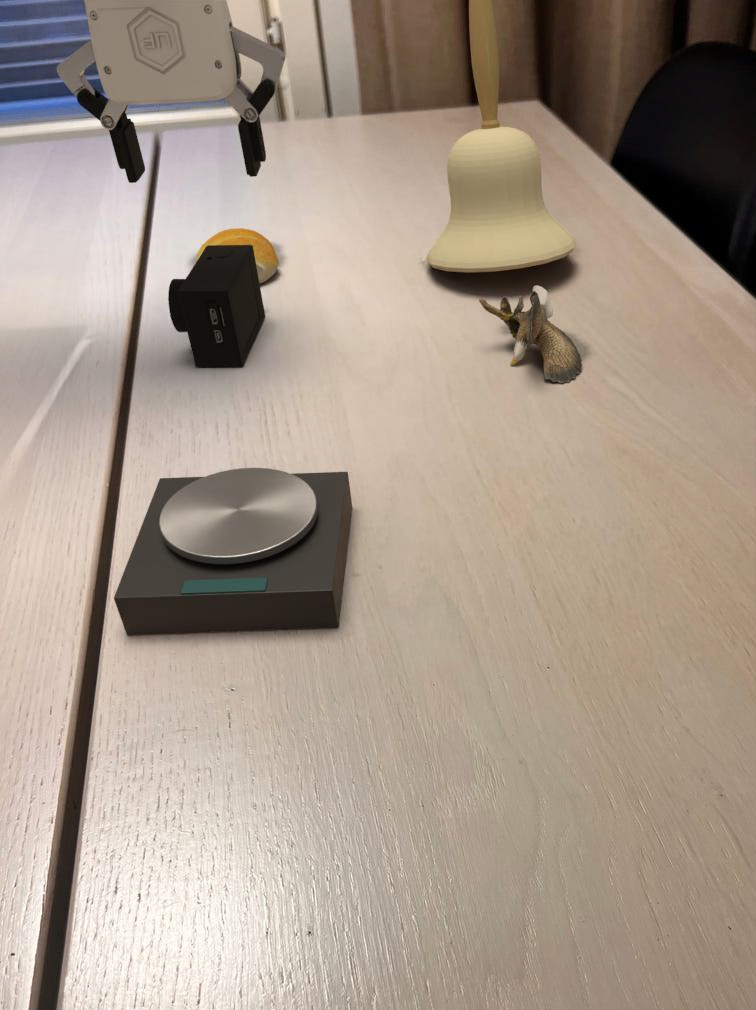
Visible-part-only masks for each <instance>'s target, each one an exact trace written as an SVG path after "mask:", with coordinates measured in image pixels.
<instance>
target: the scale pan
mask: <svg viewBox="0 0 756 1010" xmlns="http://www.w3.org/2000/svg"><path fill="white" fill-rule="evenodd" d="M293 474H294V473H289V472H287V471H283V470H279V469H275V468H273V469H272V468H268V467H267V468H266V467H242V468H234V469H228V470H227V469H226V470H223V471H219V472H214V473H212V474H209V475H206V476H202V477H203V478H201V479H198V480H196V481H194V482H192V483H190V484H188V485H186V486H185V487H183V488H182V489H180V490H179V491H178V492H177V493H175V494H174V495H173V496H172V497H171V498H170V499H169V500H168V501H167V503H166V504H165V506H164V507H163V509H162V511H161V514H160V518H159V527H160V531H161V534H162V537H163V539H164V541H165V543H166V544H167V545H168V546H169V548H171V549H172V550H173V551H174V552H176V553H177V554H179V555H181V556H183V557H185V558H188V559H190V560H194V561H197V562H203V563H209V564H238V563H245V562H251V561H255V560H259V559H263V558H266V557H269V556H272V555H274V554H277V553H279V552H281V551H283V550H285V549H287V548H289V547H290V546H292V545H294V544H295V543H297V542H298V541H299V540H300V539H302V538H303V537H304V536H305V535H306V534H307V533H308V532H309V530H310V529H311V528H312V526H313V524H314V522H315V520H316V517H317V514H318V506H317V500H316V496H315V493H314V491H313V490H312V488H311V487H310V486H309V485H308V484H307V483H306V482H305V481H303V480H302V479H300V478H299V477H297V476H295V475H293Z"/></svg>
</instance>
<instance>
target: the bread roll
mask: <svg viewBox="0 0 756 1010" xmlns="http://www.w3.org/2000/svg"><path fill="white" fill-rule="evenodd" d="M208 245H253V250H254V255H255V261H256V267H257V272H258V278H259V284H260V285H261V284H263V283H266V281H267V280H269V279H271V278H272V277H273V276H274V275H275V274H276V272H277V270H278V267H279V263H280V262H279V258H278V256H277V254H276V250H275V248H274V246H273V244H272V242H271V241H270V240H269V239H267V237H265V236H264V235H263V234H261V233H259V232H258V231H256V230H253V229H249V228H244V227H241V228H228V229H223V230H221V231H219V232H217V233H215V234H214V235H212V236H211V237H209V238H208V239H207V240H206V241H205V242H204V243H203V244H201V246H200V247H199V250H198V251H197V254H196V257H195V263H196V262H197V260H198V259H199V257H200V256H201V254H202V252H203V251H204V249H205V248H206V246H208Z"/></svg>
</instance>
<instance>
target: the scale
mask: <svg viewBox="0 0 756 1010" xmlns="http://www.w3.org/2000/svg"><path fill="white" fill-rule="evenodd" d="M292 474H293V475H295V476H297V477H299V478H300V479H302V480H303V481H305V482H306V483H307V484H308V485H309V486H310V487H311V488H312V490H313V491H314V493H315V496H316V500H317V506H318V514H317V517H316V520H315V522H314V524H313V526H312V528H311V529H310V530H309V532H308V533H307V534H306V535H305V536H304V537H303V538H302V539H300V540H299V541H298V542H297V543H295V544H294V545H292V546H290V547H289V548H287V549H285V550H283V551H281V552H279V553H277V554H274V555H272V556H269V557H266V558H263V559H259V560H255V561H251V562H245V563H238V564H209V563H203V562H197V561H194V560H190V559H188V558H185V557H183V556H181V555H179V554H177V553H176V552H174V551H173V550H172V549H171V548H169V546H168V545H167V544H166V543H165V541H164V539H163V537H162V534H161V531H160V527H159V518H160V514H161V511H162V509H163V507H164V506H165V504H166V503H167V501H168V500H169V499H170V498H171V497H172V496H173V495H174V494H175V493H177V492H178V491H179V490H180V489H182V488H183V487H185V486H186V485H188V484H190V483H192V482H194V481H196V480H198V479H201V478H203V477H204V476H187V477H186V476H184V477H183V476H182V477H181V476H180V477H160V478H159V480H158V483H157V484H156V488H155V490H154V493H153V495H152V499H151V500H150V503H149V506H148V508H147V511H146V514H145V516H144V518H143V522H142V523H141V526H140V529H139V532H138V533H137V536H136V539H135V542H134V545H133V547H132V550H131V552H130V555H129V556H128V557H129V558H128V560H127V563H126V566H125V568H124V570H123V573H122V576H121V579H120V580H119V583H118V586H117V589H116V591H115V594H114V597H113V600H114V603H115V607H116V609H117V612H118V615H119V617H120V621H121V623H122V626H123V629H124V631H125V634H126V636H144V635H146V636H149V635H168V634H169V635H171V634H173V635H174V634H177V635H178V634H201V633H227V632H228V633H230V632H258V631H282V630H283V631H285V630H310V629H311V630H312V629H314V630H315V629H337V628H339V624H340V618H341V609H342V608H341V607H342V601H343V600H342V599H343V591H344V581H345V574H346V565H347V556H348V548H349V539H350V533H351V532H350V530H351V522H352V515H353V501H352V493H351V487H350V486H351V485H350V478H349V472H348V471H327V472H323V471H322V472H301V473H300V472H299V473H297V472H296V473H295V472H294V473H292Z"/></svg>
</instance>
